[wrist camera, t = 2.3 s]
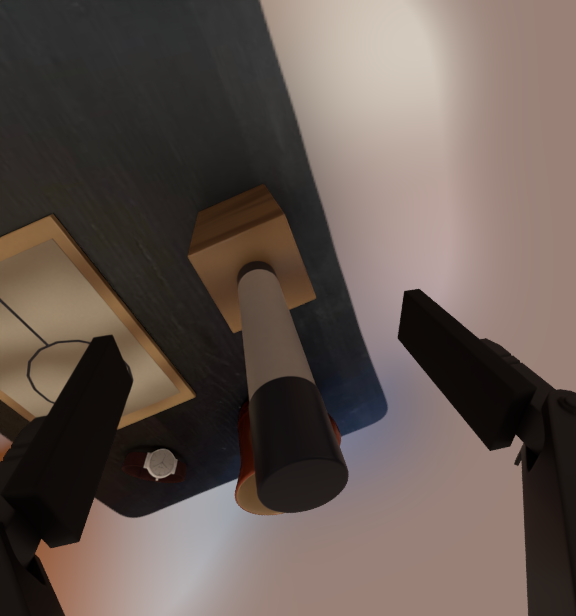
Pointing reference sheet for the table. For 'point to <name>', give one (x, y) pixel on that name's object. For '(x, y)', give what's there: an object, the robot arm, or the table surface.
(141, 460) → the watch
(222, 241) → the wooden block
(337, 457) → the marker
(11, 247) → the sketch pad
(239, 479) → the mug
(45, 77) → the table surface
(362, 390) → the table surface
